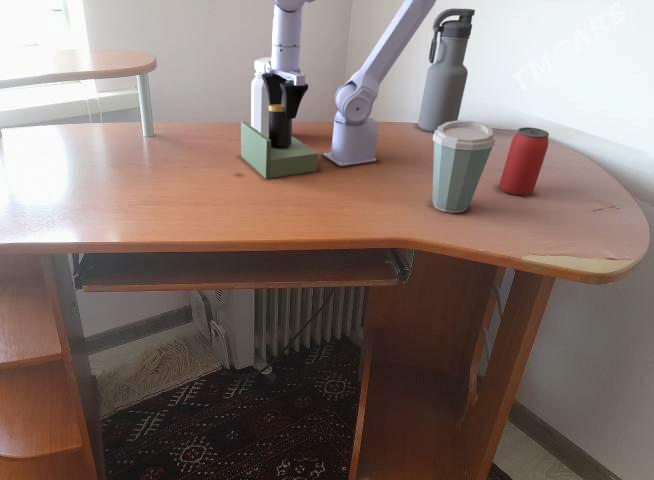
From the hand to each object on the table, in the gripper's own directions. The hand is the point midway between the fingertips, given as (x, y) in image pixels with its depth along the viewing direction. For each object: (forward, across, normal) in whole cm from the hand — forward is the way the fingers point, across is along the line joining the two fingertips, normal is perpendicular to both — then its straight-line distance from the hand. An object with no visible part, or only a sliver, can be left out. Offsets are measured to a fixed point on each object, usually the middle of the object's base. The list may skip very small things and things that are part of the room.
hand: (282, 113), depth 117 cm
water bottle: (+10, -7, +49) cm, 50 cm away
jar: (+11, -15, +4) cm, 19 cm away
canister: (+6, +2, -1) cm, 6 cm away
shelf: (+10, +2, -2) cm, 11 cm away
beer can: (+10, +33, +37) cm, 51 cm away
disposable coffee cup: (+10, +34, +19) cm, 41 cm away
